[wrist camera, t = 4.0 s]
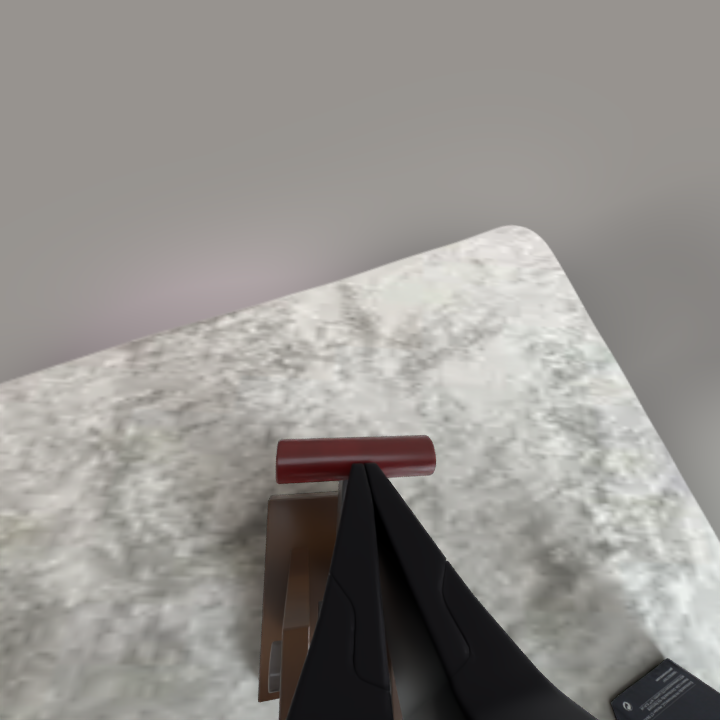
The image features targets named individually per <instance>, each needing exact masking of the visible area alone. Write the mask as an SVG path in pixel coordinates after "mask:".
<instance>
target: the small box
mask: <svg viewBox="0 0 720 720" xmlns="http://www.w3.org/2000/svg"><path fill="white" fill-rule="evenodd" d="M611 704H612V707H613V710H614V713H615V715H616V718H617V720H720V693H719V692H717V691H716V690H714V689H713V688H711V687H710V686H708V685H707V684H705V683H704V682H702V681H701V680H700V679H698V678H697V677H695V676H694V675H692V674H691V673H689V672H688V671H686V670H685V669H683V668H682V667H680V666H679V665H678V664H676V663H675V662H673V661H672V660H670V659H668V658H667V659H665V660H664V661H663V662H662V663H660V665H658V666H657V667H656V668H655V669H653V670H652V671H651V672H649V673H648V674H647V675H645V676H644V677H643V678H641V679H640V680H639V681H637V682H636V683H635V684H633V685H632V686H631V687H629V688H627V689H626V690H625V691H624V692H622V693H621V694H620V695H619V696H618V697H617V698H615V699H614V700H613V701H612V703H611Z"/></svg>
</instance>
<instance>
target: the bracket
mask: <svg viewBox="0 0 720 720" xmlns="http://www.w3.org/2000/svg"><path fill="white" fill-rule="evenodd" d="M337 509H338V491H335V492H320V493H304V494H288V495H273V496H270V498H269V500H268V515H267V534H266V554H265V573H264V593H263V612H262V632H261V651H260V671H259V690H258V702H263V701H268V700H273V699H279V698H280V702H279V720H286V717H287V714H288V711H289V708H290V705H291V702H292V699H293V696H294V693H295V690H296V687H297V684H298V680H299V677H300V674H301V671H302V668H303V665H304V662H305V659H306V656H307V653H308V650H309V647H310V643H311V640H312V637H313V633H314V630H315V627H316V623H317V620H318V602H319V601H322V600H323V596H324V592H325V587H326V583H327V578H328V575H329V569H330V564H331V560H332V555H333V550H334V545H335V541H336V528H337ZM385 635H386V633H385ZM386 646H387V657H388V668H389V679H390V693H391V701H392V710H393V718H394V720H403V717H402V712H401V707H400V702H399V697H398V692H397V687H396V682H395V677H394V672H393V667H392V663H391V658H390V653H389V648H388V643H387V638H386Z"/></svg>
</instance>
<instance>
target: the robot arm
mask: <svg viewBox="0 0 720 720" xmlns="http://www.w3.org/2000/svg"><path fill="white" fill-rule="evenodd" d="M385 633H386V635H385ZM386 638H387V643H388V648H389V653H390V658H391V663H392V667H393V672H394V677H395V682H396V687H397V692H398V697H399V702H400V707H401V712H402V717H403V720H598V719H597V718H595V717H594V716H593V715H591V714H590V713H589V712H587V711H586V710H585V709H583V708H582V707H581V706H579V705H578V704H576V703H575V702H574V701H572V700H571V699H570V698H569V697H567V696H566V695H565V694H564V693H562V692H561V691H560V690H559V689H558V688H556V687H555V686H554V685H553V684H552V683H551V682H550V681H549V680H548V679H547V678H546V677H545V676H544V675H543V674H542V673H541V672H540V671H539V670H538V669H537V668H536V667H535V665H534V664H533V663H532V662H531V661H530V660H529V659H528V657H527V656H526V655H525V654H524V653H523V652H522V651H521V649H520V648H519V647H518V646H517V645H516V644H515V642H514V641H513V640H512V639H511V638H510V637H509V636H508V634H507V633H506V632H505V631H504V630H503V629H502V628H501V626H500V625H499V624H498V623H497V622H496V621H495V619H494V618H493V617H492V616H491V615H490V614H489V612H488V611H487V610H486V609H485V608H484V607H483V605H482V604H481V603H480V602H479V601H478V599H477V598H476V597H475V596H474V595H473V593H472V592H471V591H470V589H469V588H468V587H467V586H466V584H465V583H464V582H463V580H462V579H461V578H460V576H459V575H458V574H457V572H456V571H455V570H454V568H453V567H452V566H451V564H450V563H449V561H446V557H445V556H444V555H443V553H442V552H441V551H440V549H439V548H438V547H437V545H436V544H435V542H434V541H433V540H432V538H431V537H430V536H429V534H428V533H427V531H426V530H425V529H424V527H423V526H422V525H421V523H420V522H419V520H418V519H417V518H416V516H415V515H414V514H413V512H412V511H411V510H410V508H409V507H408V505H407V504H406V503H405V501H404V500H403V499H402V497H401V496H400V494H399V493H398V492H397V490H396V489H395V488H394V486H393V485H392V484H391V482H390V481H389V479H388V478H387V477H386V475H385V474H384V473H383V471H382V470H381V468H380V467H379V466H378V464H377V463H365V464H363V463H353V464H352V465H351V469H350V474H349V479H348V484H347V488H346V493H345V498H344V503H343V507H342V512H341V517H340V522H339V526H338V531H337V536H336V541H335V545H334V550H333V555H332V560H331V564H330V569H329V575H328V578H327V583H326V587H325V592H324V596H323V600H322V604H321V609H320V613H319V617H318V620H317V623H316V627H315V630H314V633H313V637H312V640H311V643H310V647H309V650H308V653H307V656H306V659H305V662H304V665H303V668H302V671H301V674H300V677H299V680H298V684H297V687H296V690H295V693H294V696H293V699H292V702H291V705H290V708H289V711H288V714H287V717H286V720H394V718H393V710H392V701H391V693H390V679H389V668H388V657H387V646H386Z"/></svg>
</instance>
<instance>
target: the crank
mask: <svg viewBox="0 0 720 720" xmlns="http://www.w3.org/2000/svg"><path fill="white" fill-rule="evenodd" d="M353 463H363V464H365V463H377V464H378V466H379V467H380V468H381V470H382V471H383V473H384V474H385V475H386V477H387V478H393V477H410V476H428V475H431V474H433V473H434V470H435V467H436V454H435V449H434V445H433V443H432V441H431V439H430V438H429V437H428V436H426V435H417V436H381V437H346V438H310V439H281V440H279V442H278V446H277V454H276V482H277V484H287V483H305V482H323V481H339V489H338V509H337V528H336V536H337V531H338V526H339V522H340V517H341V512H342V507H343V503H344V498H345V493H346V488H347V484H348V479H349V474H350V469H351V465H352V464H353ZM321 604H322V601H319V602H318V617H319V613H320V609H321Z"/></svg>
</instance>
